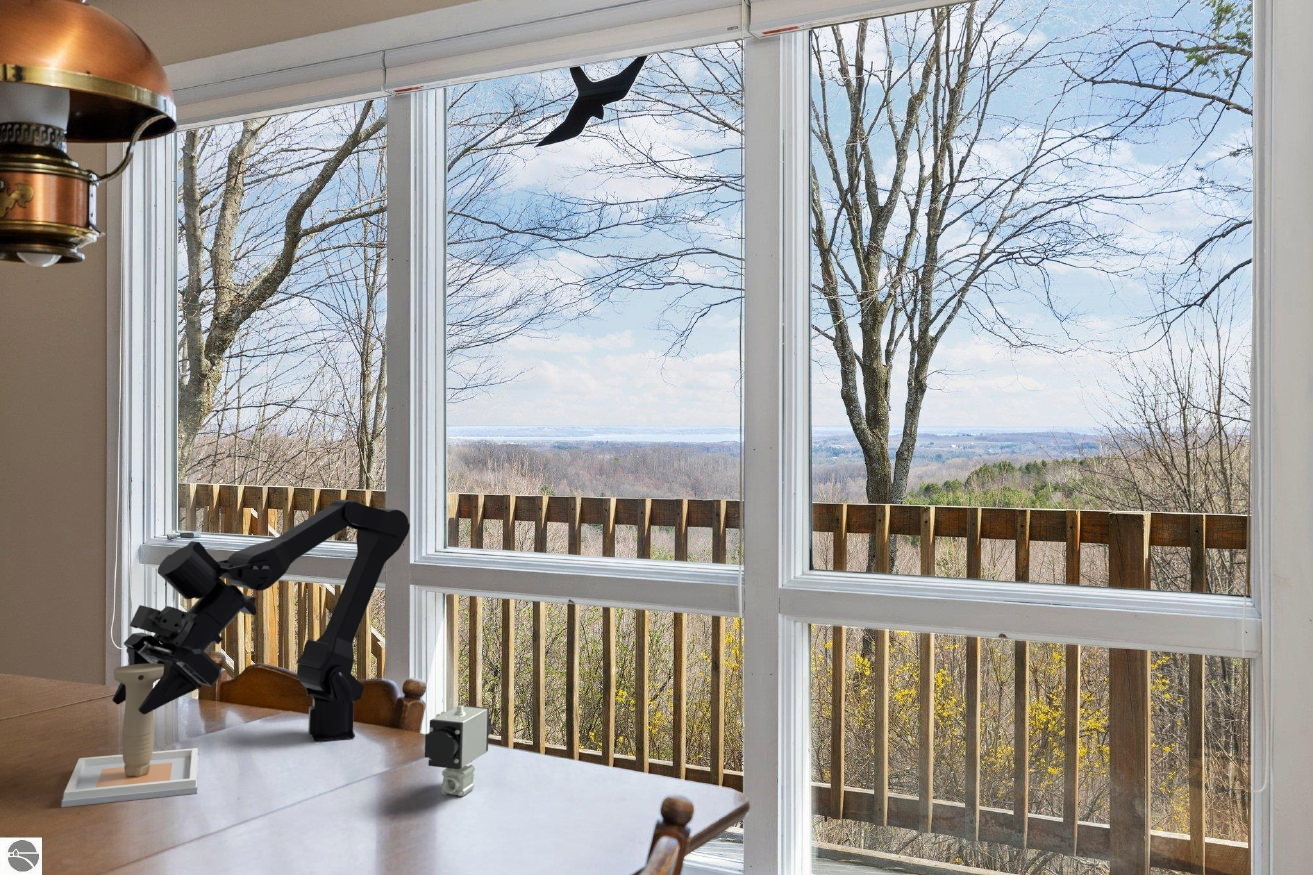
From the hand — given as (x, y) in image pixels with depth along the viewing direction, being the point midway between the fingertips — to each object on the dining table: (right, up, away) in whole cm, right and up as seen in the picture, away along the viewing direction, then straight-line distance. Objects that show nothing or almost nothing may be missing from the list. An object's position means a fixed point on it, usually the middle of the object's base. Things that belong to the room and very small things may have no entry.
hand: (127, 707), depth 139 cm
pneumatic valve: (+46, -12, 0) cm, 47 cm away
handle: (+1, -10, +1) cm, 10 cm away
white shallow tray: (+1, -11, +1) cm, 11 cm away
